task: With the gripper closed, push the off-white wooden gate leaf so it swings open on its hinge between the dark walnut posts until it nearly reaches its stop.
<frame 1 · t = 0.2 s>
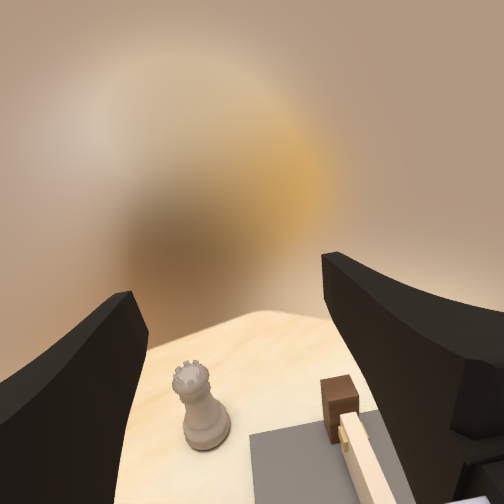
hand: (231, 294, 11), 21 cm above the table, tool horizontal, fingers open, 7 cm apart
rook chess piece: (209, 430, 29), on the table
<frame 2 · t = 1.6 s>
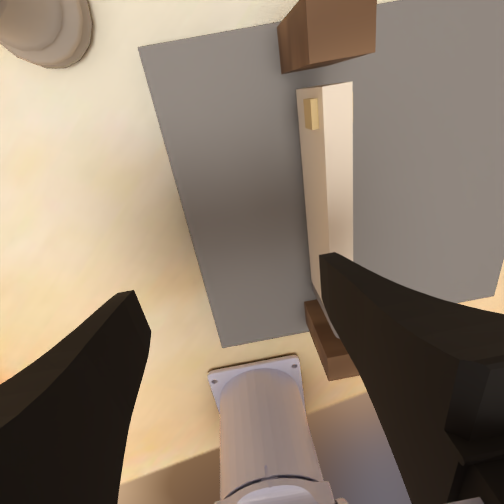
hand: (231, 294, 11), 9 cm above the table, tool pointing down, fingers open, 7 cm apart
gate posts: (327, 220, 17), on the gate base, point 4 cm above the table
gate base: (353, 197, 20), on the table
rook chess piece: (48, 16, 15), on the table
gate leaf: (326, 220, 17), point 4 cm above the table, hinge at 0.0°
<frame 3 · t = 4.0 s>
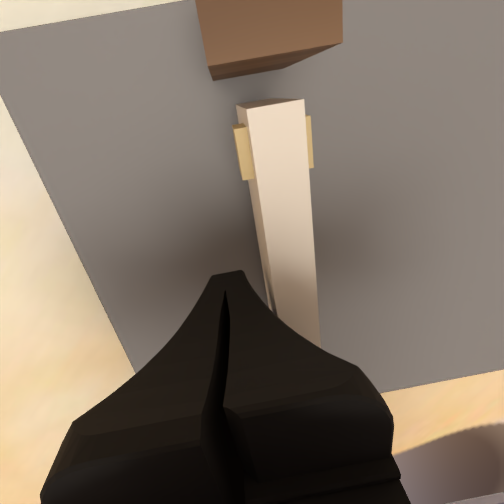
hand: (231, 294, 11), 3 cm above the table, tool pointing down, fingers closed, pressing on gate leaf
gate posts: (286, 299, 11), on the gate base, point 4 cm above the table
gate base: (333, 249, 15), on the table
gate leaf: (286, 298, 11), point 4 cm above the table, hinge at 0.0°, touching gripper
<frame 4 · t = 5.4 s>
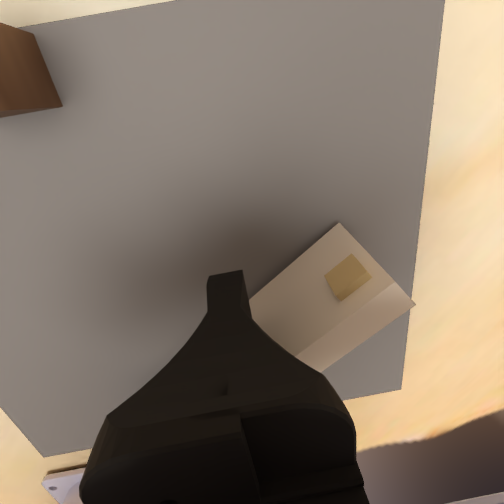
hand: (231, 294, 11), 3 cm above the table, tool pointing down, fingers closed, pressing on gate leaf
gate posts: (86, 337, 11), on the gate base, point 4 cm above the table
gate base: (182, 276, 15), on the table
gate leaf: (240, 360, 12), point 4 cm above the table, hinge at 54.7°, touching gripper
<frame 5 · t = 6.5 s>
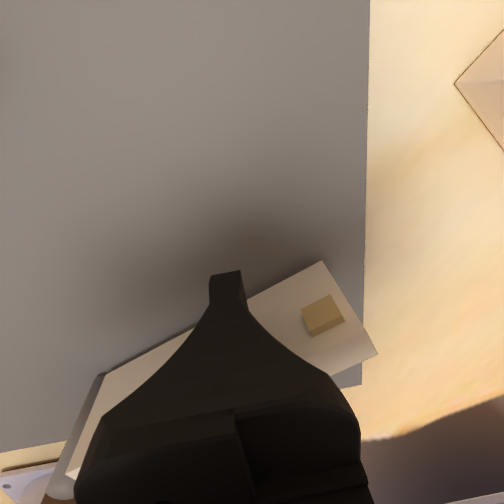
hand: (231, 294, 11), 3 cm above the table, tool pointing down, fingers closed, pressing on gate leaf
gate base: (123, 265, 14), on the table
gate leaf: (200, 372, 13), point 4 cm above the table, hinge at 69.0°, touching gripper
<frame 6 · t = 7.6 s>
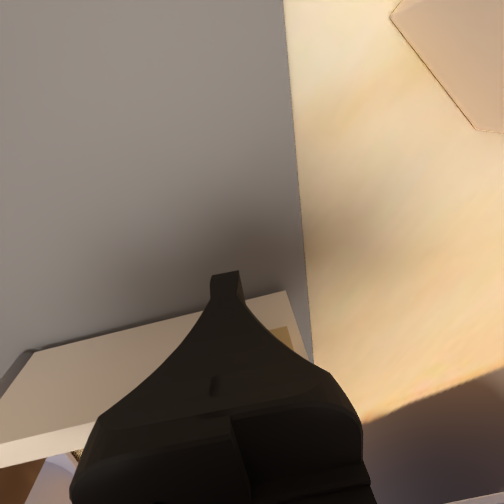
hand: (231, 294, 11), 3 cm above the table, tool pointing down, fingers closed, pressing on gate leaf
milk: (498, 5, 11), on the table
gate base: (38, 228, 13), on the table
gate leaf: (139, 373, 12), point 4 cm above the table, hinge at 85.7°, touching gripper
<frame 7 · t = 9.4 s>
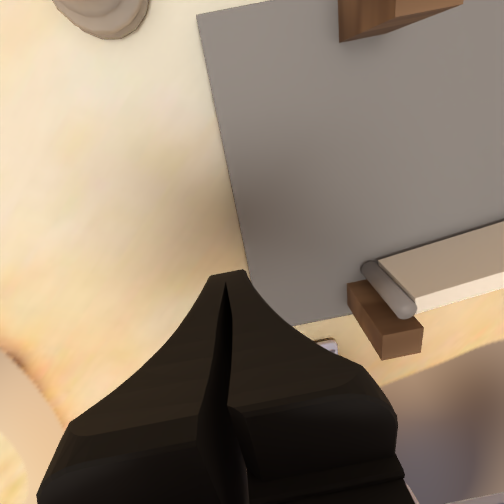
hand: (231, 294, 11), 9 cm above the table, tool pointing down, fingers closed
gate posts: (384, 193, 16), on the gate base, point 4 cm above the table
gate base: (400, 174, 20), on the table
gate leaf: (479, 259, 19), point 4 cm above the table, hinge at 82.9°
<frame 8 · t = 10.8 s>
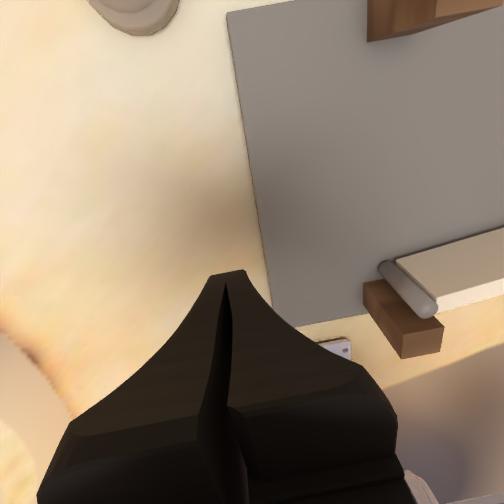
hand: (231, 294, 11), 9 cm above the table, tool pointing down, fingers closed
gate posts: (407, 193, 16), on the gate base, point 4 cm above the table
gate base: (420, 174, 20), on the table
gate leaf: (497, 259, 19), point 4 cm above the table, hinge at 82.9°
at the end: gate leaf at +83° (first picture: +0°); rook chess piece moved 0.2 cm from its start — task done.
